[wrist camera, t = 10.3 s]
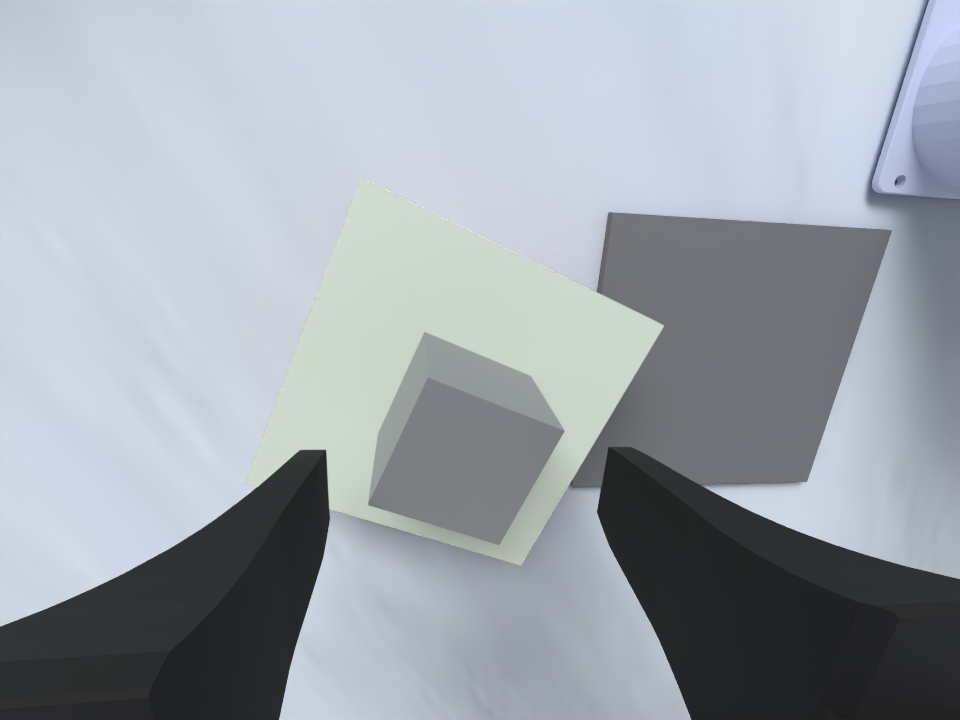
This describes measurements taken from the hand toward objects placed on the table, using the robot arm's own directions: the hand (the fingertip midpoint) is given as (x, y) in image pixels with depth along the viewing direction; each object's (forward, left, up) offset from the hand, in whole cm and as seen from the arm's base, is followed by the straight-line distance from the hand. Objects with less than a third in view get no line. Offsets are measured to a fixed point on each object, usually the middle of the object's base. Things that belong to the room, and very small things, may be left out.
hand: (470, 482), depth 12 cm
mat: (-13, 0, -10) cm, 16 cm away
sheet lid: (0, 0, -6) cm, 6 cm away
